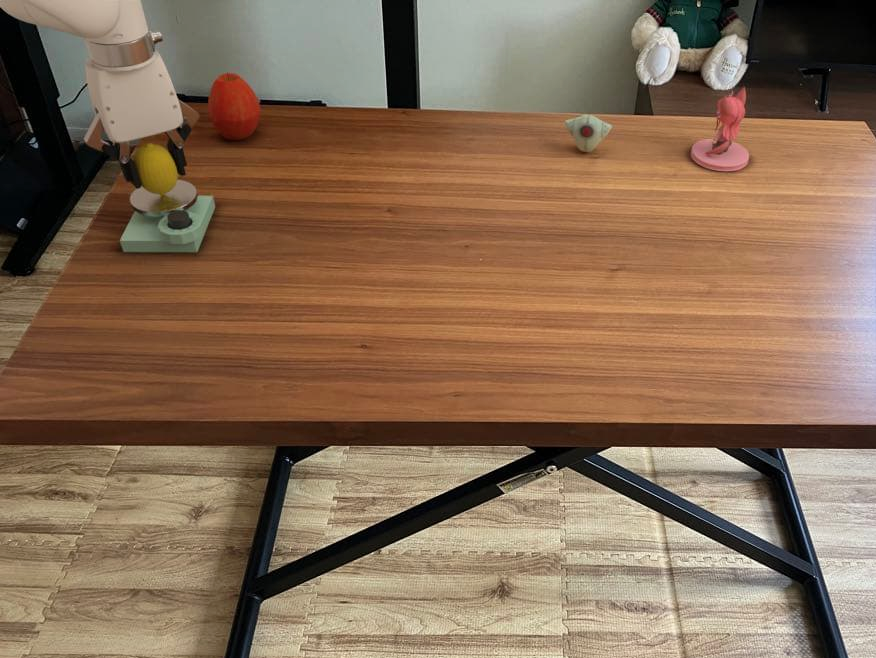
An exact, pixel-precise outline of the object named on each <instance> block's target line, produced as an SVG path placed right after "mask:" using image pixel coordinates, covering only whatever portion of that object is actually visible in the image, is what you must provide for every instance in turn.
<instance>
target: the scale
mask: <svg viewBox="0 0 876 658" xmlns="http://www.w3.org/2000/svg"><path fill="white" fill-rule="evenodd" d="M215 209H216V203H215V200H214V196H213V195H198V199H197V201H196V203H195V204H194V205H193V206H192V207H190V208H189V209H187V210H185V211H186V212H188V214H189V217H190V221H191V226H189V227H188V228H185V229H181V230H173V229H171V228H170V225H169V222H168V219H167V216H162V217H153V216H146V215H142V214H140V213H137V212H136V211H135V210H134V212H133V214H132V216H131V217H130V220H129V222H128V223H127V224H126V225H127V226H126V227H125V229H124V231H123V233H122V235H121V237H120V239H119V243H120V246H121V249H122V252H123V253H198V251H199V249H200V247H201V244H202V241H203V238H204V237H205V235H206V232H207V229H208V226H209V224H210V222H211V219H212V217H213V213H214V212H215Z"/></svg>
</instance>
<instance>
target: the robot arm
mask: <svg viewBox="0 0 876 658" xmlns="http://www.w3.org/2000/svg"><path fill="white" fill-rule="evenodd" d="M0 8H1V9H2V10H3V11H4V12H5V13H6V14H8V15H10V16H11V17H13V18H14V19H17V20H19V21H22V22H25V23H27V24H32V25H36V26H39V27H42V28H46V29H51V30H54V31H59V32H62V33H66V34H68V35H72V36H75V37H79V38H83V39H84V43H85V46H86V48H87V52H88V54H89V58H87V59H86V60H85V61H84V70H85V78H86V84H87V88H88V89H87V90H88V93H89V97H90V103H91V107H92V110H93V113H94V118H93V120H92V122H91V123H90V126H89V128H88V129H87V132H86V133H85V135H84V137H83V141H84V143H85V144H86V145H87V146H88V147H90V148H92V149H94V150H96V151H99V152H102V153H104V154H105V155H107V156H109V157H111V158H113V159H115V160H117V161H118V163H119V166H120V169H121V172H122V175H123V178H124V179H125V181H126V183H129V182H130V183H131V184H132V185H133V187H134V188H135V190H136V189H139V188H141V187H142V185H141V182H140V179H139V176H138V172H137V169H136V166H135V163H134V161H133V159H132V158H131V156H130V151H131V142H133V141H136V140H137V141H138V140H141V139H144V138H148V137H152V136H156V135H159V134H163V133H164V134H165V135H166V136H167V138H168V140H167V141H166V149H167V151H168V152H169V153H170V154H171V155H172V157H173V159H174V161H175V164H176V167H177V171H178V176H181V177H185V176H186V175H187V173H186V169H185V167H187V166H188V163H187V159H186V156H185V155H186V154H185V151H184V148H185V146H186V141H187V139H188V137H189V136H190V134H191V132H192V129H193V128H194V127H195V125H196V124H197V122H198V121H199V120H200V117H201V116H200V114H199V112H198V111H196V110H195V109H194V108H193V107H191V106H189V105H188V104H186V103H185V102H183V101H181V99H179V98H178V96H177V92H176V89H175V87H174V85H173V81H172V79H171V76H170V73H169V71H168V68H167V67H166V63H165V62H164V60H163V58H162V56H161V54H160V52H159V51H158V50H157V49H156V44H158V43H161V42H163V41H164V39H163V35H162V33H161V31H160V30H152V29H149V26H148V24H147V19H146V16H145V13H144V7H143V4H142V0H0ZM104 132H105V134H106V135H107V138H108V140H109V141H110V142H112V143H110V142H109V141H106V140H102V139H101V137H102V135H103V133H104Z"/></svg>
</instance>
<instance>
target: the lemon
mask: <svg viewBox="0 0 876 658" xmlns="http://www.w3.org/2000/svg"><path fill="white" fill-rule="evenodd" d="M132 160H133V161H134V163H135V166H136V169H137V172H138V176H139V179H140V182H141V185H142V187H143V188H144V189H145V190H147V191H148V192H150V193H153V194H159V195H161V196H164V195H166V193H167V192H169V191H171V190H172V189H173V188H174V187H175V185H176V183H177V180H179V174H178V171H177V167H176V164H175V161H174V159H173V157H172V155H171V154H170V153H169V151H168V149H167V148H165V147H164V146H162V145H160V144H157V143H151V142H149V141H148V142H146V143H144V144H143V145H141V146H139V147H138V148H137V150H136V151H135V153H134V154H133V159H132Z"/></svg>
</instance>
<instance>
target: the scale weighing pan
mask: <svg viewBox="0 0 876 658" xmlns="http://www.w3.org/2000/svg"><path fill="white" fill-rule="evenodd" d="M198 196H199V194H198V190H197V188H196V186H195V185H194V184H192V183H191V182H189V181H186V180H182V179H177V183H176V185H175V187H174V188H173V189H172V190H171V191H169V192H167V193H166V195H164V196H161V195H159V194H153V193H150V192H148V191H147V190H145V189H144V188H143V187H141V188H139V189H136V188H135V189H134V190H133V192H132V193H131V194H130V197H129V202H130V206H131V208H132V209H133V211H134V212H135V211H136V212H137V213H140V214H142V215H146V216H153V217H162V216H168V214H169V213H171V212H173V211H177V210H183V211H185V210H187V209H189V208H190V207H192V206H193V205H194V204H195V203H196V201H197V199H198Z"/></svg>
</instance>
